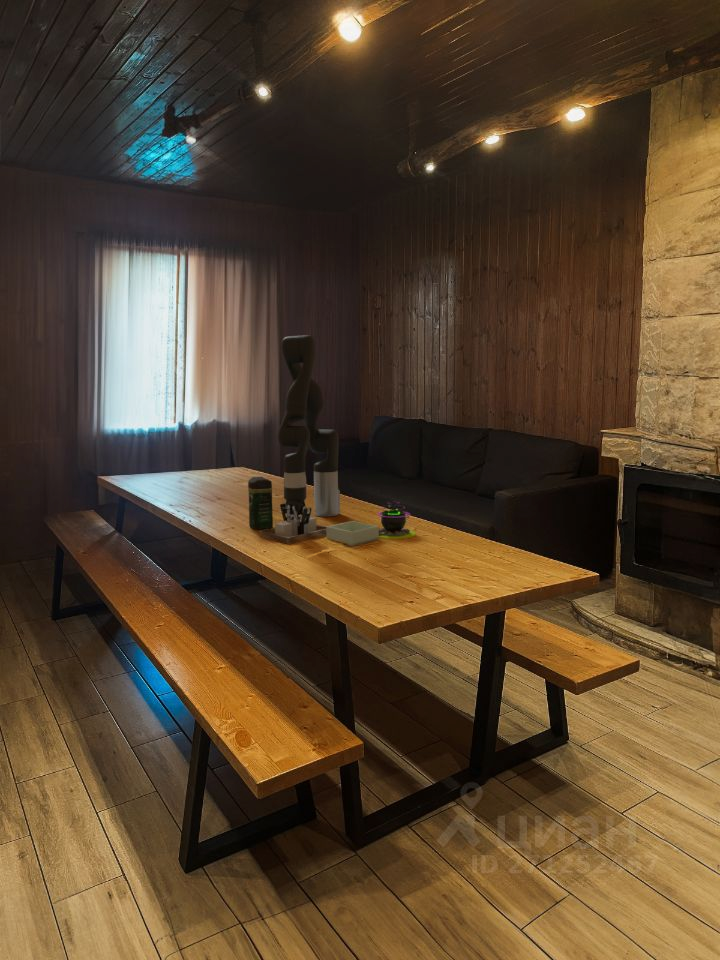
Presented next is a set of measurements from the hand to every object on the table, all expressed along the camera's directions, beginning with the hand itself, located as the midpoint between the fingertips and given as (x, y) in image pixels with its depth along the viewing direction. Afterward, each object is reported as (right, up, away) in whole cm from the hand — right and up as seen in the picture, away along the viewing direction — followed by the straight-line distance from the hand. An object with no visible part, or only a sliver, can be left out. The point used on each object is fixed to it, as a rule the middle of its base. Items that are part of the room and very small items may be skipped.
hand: (296, 534), depth 239 cm
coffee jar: (-14, +1, +13) cm, 19 cm away
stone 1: (-4, -1, -4) cm, 6 cm away
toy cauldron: (+33, 0, +4) cm, 34 cm away
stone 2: (0, 0, 0) cm, 0 cm away
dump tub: (+19, -1, -4) cm, 20 cm away
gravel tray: (0, -1, 0) cm, 1 cm away
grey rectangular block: (+4, +1, +4) cm, 6 cm away
